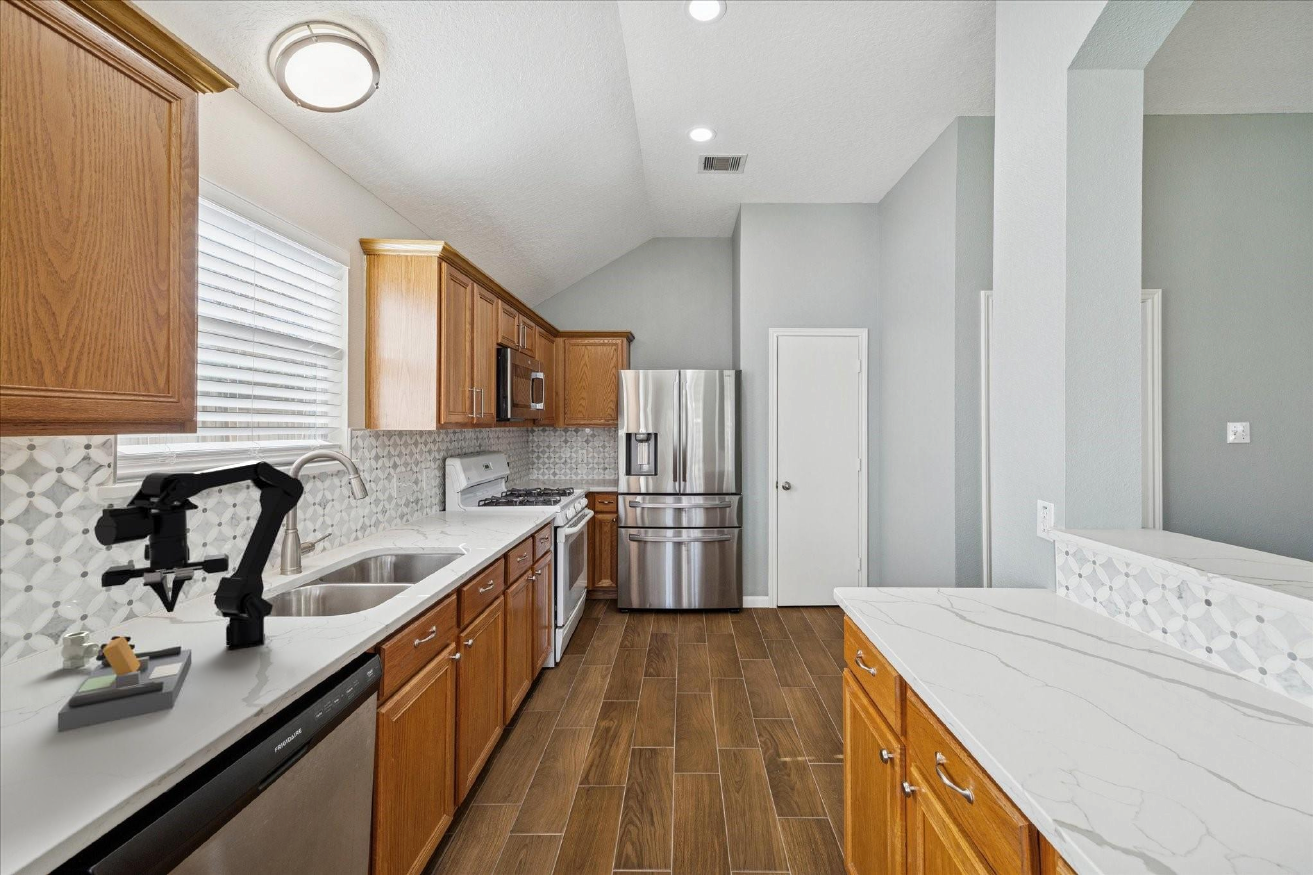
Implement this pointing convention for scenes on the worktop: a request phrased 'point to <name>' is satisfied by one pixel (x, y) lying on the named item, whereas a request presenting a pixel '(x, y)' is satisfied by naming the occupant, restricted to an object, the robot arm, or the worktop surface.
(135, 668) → the lever
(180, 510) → the robot arm
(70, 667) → the valve
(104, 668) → the panel
